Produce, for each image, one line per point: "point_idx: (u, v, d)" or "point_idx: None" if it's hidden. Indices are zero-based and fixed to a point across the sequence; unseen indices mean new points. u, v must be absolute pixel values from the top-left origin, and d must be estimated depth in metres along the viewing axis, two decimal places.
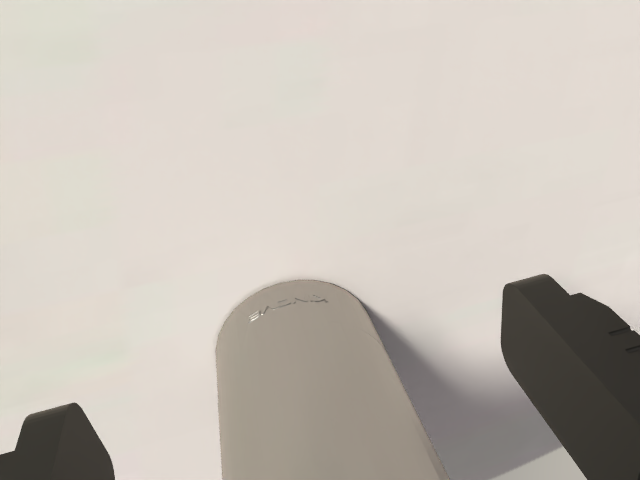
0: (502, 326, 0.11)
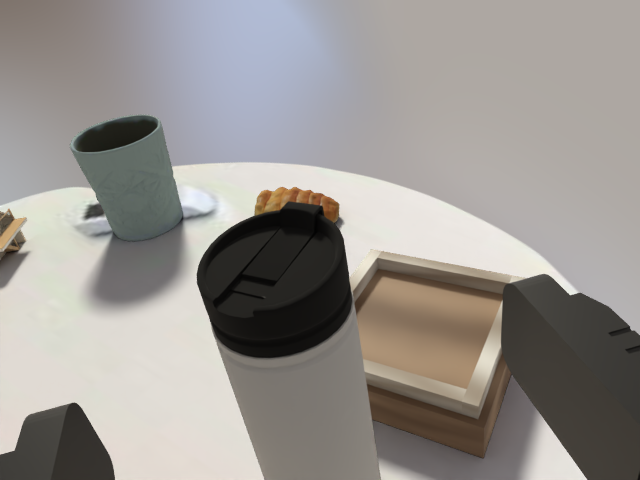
0: (502, 326, 0.11)
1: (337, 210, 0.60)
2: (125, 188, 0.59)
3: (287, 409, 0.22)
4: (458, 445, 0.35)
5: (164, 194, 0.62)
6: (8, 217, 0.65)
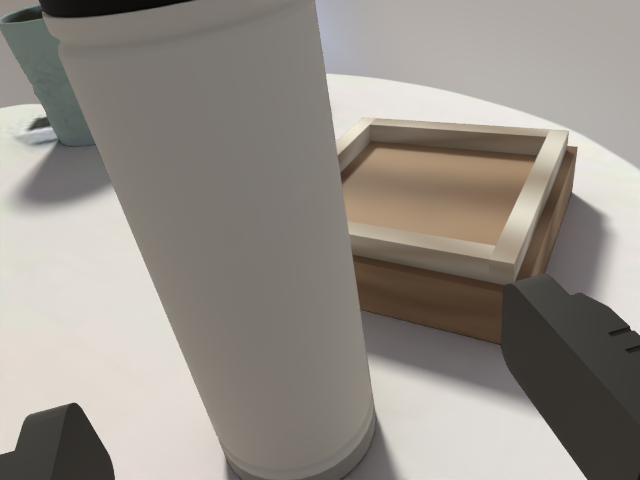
0: (502, 326, 0.11)
1: None
2: (65, 73, 0.48)
3: (181, 154, 0.12)
4: (483, 332, 0.24)
5: None
6: None
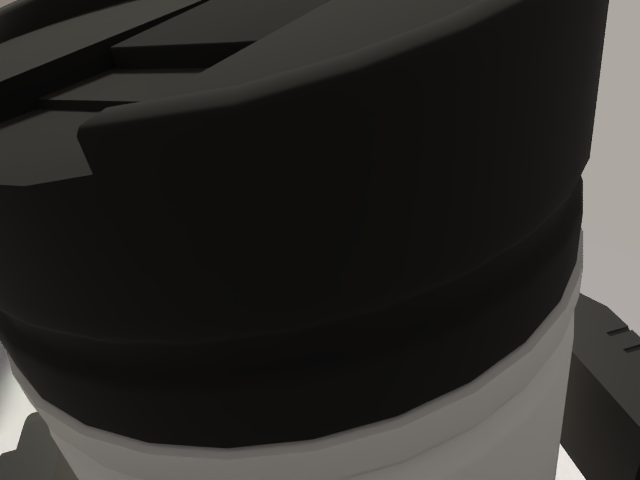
0: None
1: None
2: None
3: None
4: None
5: None
6: None
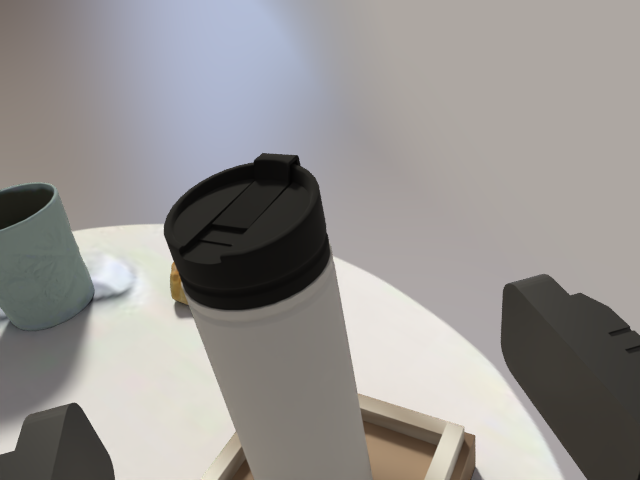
0: (502, 326, 0.11)
1: None
2: (11, 275, 0.50)
3: (262, 369, 0.21)
4: None
5: (63, 277, 0.53)
6: None
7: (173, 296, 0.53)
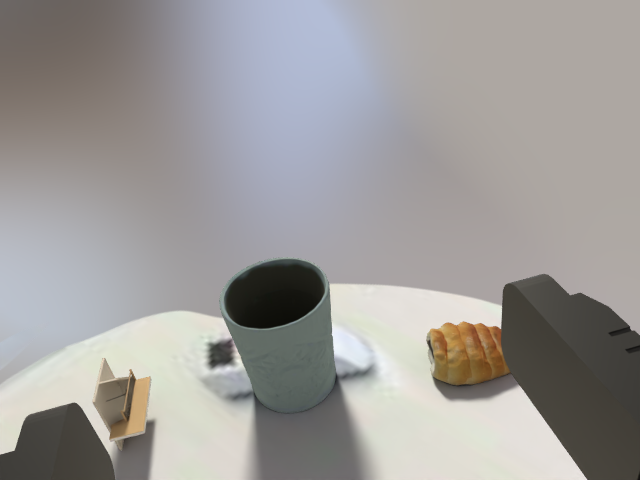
0: (502, 326, 0.11)
1: None
2: (288, 363, 0.48)
3: None
4: None
5: (327, 360, 0.51)
6: (129, 379, 0.54)
7: (439, 376, 0.51)
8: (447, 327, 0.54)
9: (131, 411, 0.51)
